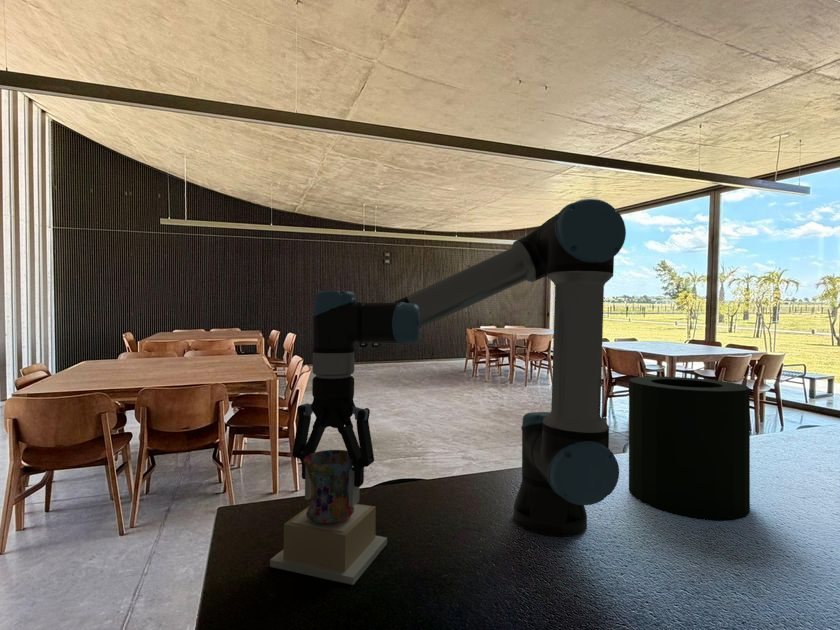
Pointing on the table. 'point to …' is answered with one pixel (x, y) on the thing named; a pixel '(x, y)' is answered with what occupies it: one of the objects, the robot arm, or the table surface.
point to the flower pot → (690, 446)
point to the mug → (329, 486)
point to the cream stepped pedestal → (331, 546)
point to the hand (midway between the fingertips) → (331, 500)
